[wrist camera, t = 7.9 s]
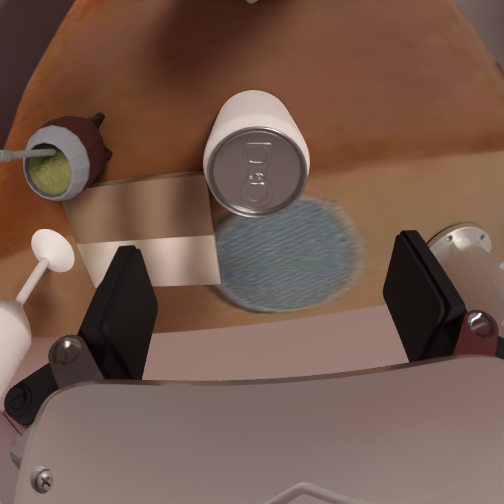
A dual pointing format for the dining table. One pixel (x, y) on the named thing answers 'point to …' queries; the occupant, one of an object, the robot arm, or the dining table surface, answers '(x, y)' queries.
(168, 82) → the dining table surface
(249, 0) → the coffee box
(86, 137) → the mate gourd
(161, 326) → the dining table surface
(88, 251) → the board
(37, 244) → the champagne flute
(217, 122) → the can
